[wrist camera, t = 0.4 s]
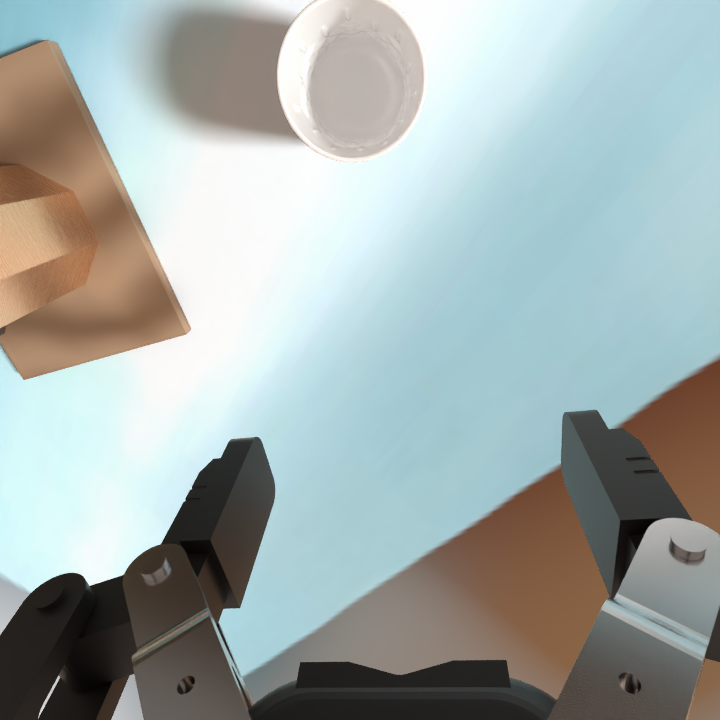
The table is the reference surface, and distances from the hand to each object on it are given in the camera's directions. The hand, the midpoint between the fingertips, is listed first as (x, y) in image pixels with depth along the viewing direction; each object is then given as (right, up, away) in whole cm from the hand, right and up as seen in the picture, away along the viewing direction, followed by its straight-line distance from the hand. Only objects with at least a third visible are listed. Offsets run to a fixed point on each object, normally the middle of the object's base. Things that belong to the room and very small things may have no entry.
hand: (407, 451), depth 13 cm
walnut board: (-27, +13, +26) cm, 40 cm away
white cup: (-1, +21, +22) cm, 31 cm away
